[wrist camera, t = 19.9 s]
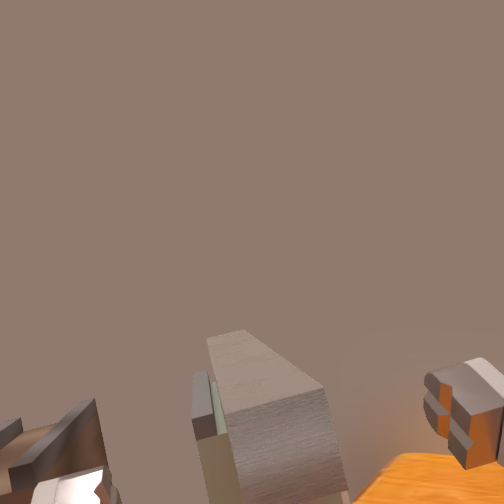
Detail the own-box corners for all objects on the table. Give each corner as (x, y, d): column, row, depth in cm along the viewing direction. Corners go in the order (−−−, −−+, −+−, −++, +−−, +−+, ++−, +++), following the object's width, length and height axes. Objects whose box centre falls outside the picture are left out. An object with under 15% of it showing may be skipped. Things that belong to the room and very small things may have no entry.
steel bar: (348, 490, 13) (324, 387, 13) (248, 521, 12) (224, 414, 13) (252, 367, 34) (243, 329, 35) (214, 377, 34) (206, 338, 34)
